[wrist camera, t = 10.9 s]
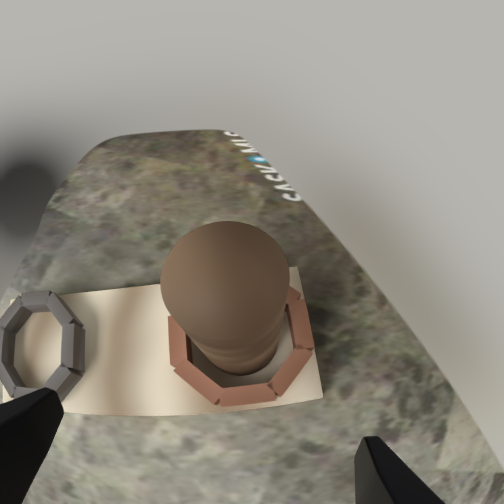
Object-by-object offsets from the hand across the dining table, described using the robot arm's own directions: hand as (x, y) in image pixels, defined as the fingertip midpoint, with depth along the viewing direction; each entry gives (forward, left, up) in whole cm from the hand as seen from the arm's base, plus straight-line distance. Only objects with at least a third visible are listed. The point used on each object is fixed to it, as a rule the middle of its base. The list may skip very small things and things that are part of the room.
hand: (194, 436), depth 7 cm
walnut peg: (+4, +4, -10) cm, 11 cm away
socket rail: (-3, +7, -11) cm, 14 cm away
